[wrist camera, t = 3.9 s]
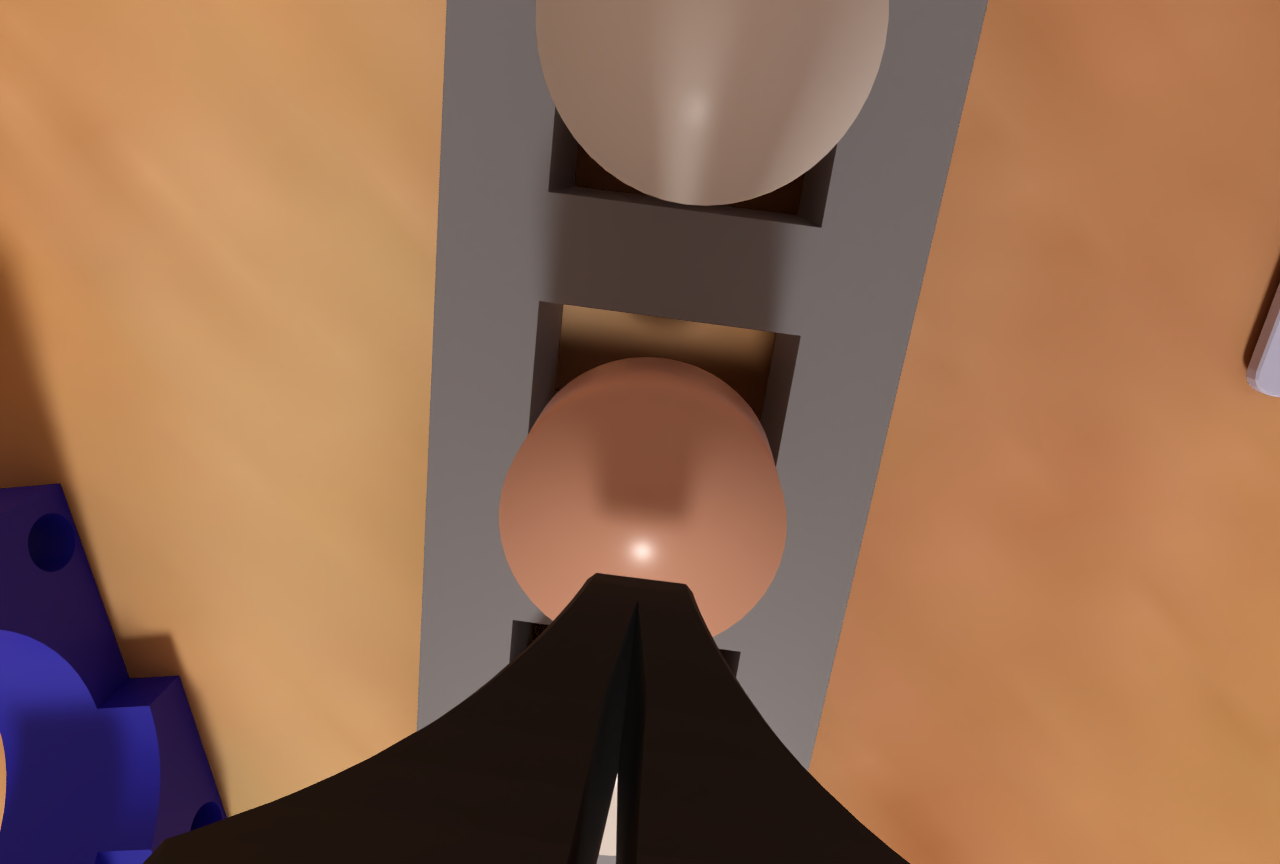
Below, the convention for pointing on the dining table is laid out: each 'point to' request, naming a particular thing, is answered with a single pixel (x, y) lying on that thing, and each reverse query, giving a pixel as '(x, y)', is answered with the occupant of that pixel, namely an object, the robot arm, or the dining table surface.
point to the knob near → (709, 87)
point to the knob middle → (646, 490)
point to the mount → (685, 290)
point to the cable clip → (83, 710)
